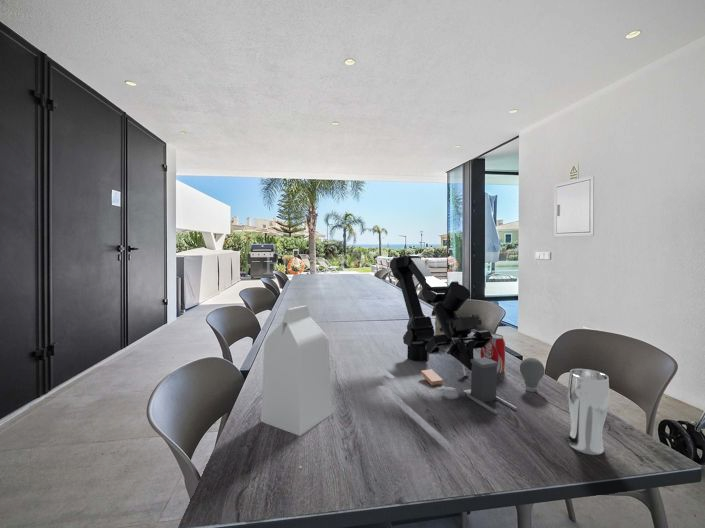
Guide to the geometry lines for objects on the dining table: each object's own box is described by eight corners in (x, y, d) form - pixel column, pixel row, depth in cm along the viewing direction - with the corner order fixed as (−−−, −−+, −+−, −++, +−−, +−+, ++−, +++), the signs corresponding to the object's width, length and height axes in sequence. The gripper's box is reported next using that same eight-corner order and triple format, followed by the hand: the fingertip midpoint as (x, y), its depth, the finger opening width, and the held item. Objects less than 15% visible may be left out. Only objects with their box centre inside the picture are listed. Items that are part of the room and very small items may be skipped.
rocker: (420, 374, 107) (421, 370, 106) (431, 372, 108) (431, 369, 108) (431, 385, 101) (432, 381, 101) (442, 383, 102) (443, 379, 102)
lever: (462, 375, 109) (458, 357, 111) (467, 374, 110) (463, 356, 111) (465, 375, 108) (462, 356, 109) (470, 374, 108) (467, 356, 110)
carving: (453, 342, 149) (454, 313, 148) (447, 347, 142) (448, 316, 142) (438, 340, 152) (439, 311, 151) (432, 344, 146) (432, 315, 145)
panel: (410, 379, 109) (410, 370, 109) (461, 372, 115) (461, 364, 115) (470, 424, 83) (471, 412, 83) (532, 412, 89) (532, 401, 89)
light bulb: (541, 391, 101) (543, 356, 100) (545, 400, 95) (546, 363, 95) (517, 388, 103) (519, 353, 102) (520, 397, 97) (521, 360, 97)
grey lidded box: (469, 396, 95) (470, 359, 94) (485, 393, 97) (486, 357, 96) (481, 403, 91) (482, 364, 90) (497, 400, 92) (498, 362, 92)
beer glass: (558, 438, 77) (561, 368, 76) (589, 436, 78) (592, 367, 77) (581, 457, 70) (585, 381, 69) (615, 455, 71) (619, 380, 70)
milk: (299, 436, 78) (299, 314, 76) (261, 421, 84) (259, 309, 82) (332, 413, 88) (332, 306, 86) (295, 402, 94) (295, 301, 92)
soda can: (506, 378, 111) (507, 339, 110) (481, 376, 112) (483, 338, 111) (501, 370, 118) (503, 333, 117) (478, 368, 119) (479, 332, 118)
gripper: (432, 306, 98) (456, 359, 88) (489, 302, 104) (517, 351, 95) (417, 328, 106) (437, 379, 96) (470, 323, 112) (495, 371, 103)
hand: (472, 369), depth 97 cm, fingers closed
